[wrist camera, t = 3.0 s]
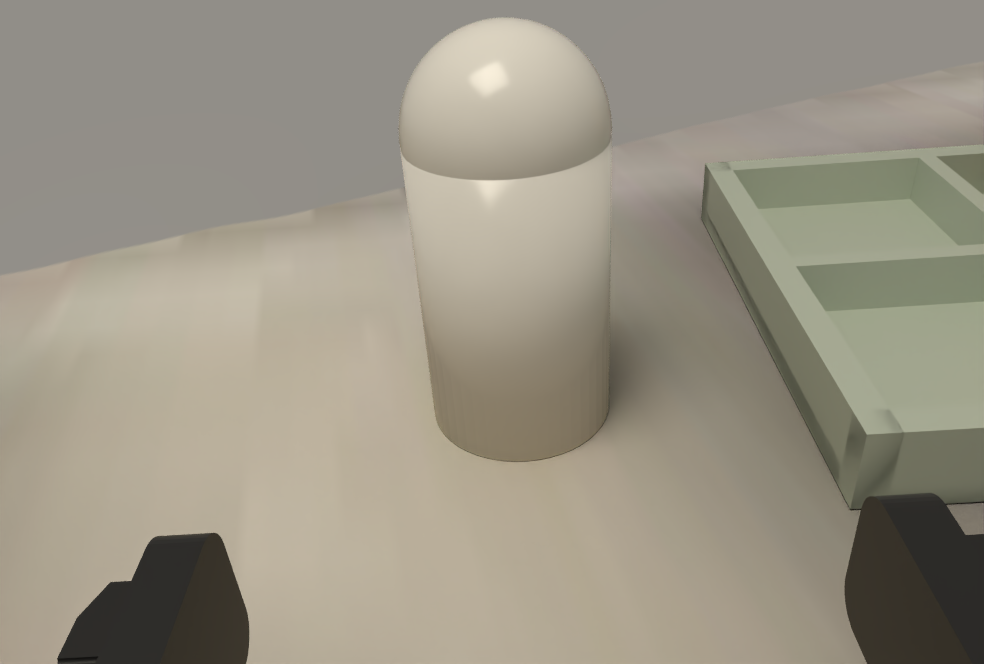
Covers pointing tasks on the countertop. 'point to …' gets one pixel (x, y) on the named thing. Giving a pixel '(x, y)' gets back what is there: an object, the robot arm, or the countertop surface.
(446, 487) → the countertop surface
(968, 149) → the green rectangular open tray
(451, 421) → the white dome-topped cylinder
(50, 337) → the countertop surface
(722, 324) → the countertop surface
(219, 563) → the robot arm
